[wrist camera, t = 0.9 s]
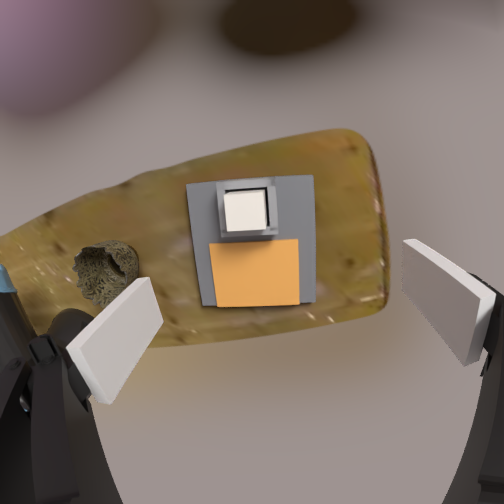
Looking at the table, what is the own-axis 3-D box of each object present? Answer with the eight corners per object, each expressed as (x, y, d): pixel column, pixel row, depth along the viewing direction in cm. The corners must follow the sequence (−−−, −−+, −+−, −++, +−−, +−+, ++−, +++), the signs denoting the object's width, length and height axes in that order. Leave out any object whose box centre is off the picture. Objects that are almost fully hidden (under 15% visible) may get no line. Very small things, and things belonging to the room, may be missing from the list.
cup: (156, 283, 36) (129, 312, 29) (111, 280, 37) (80, 305, 29) (150, 228, 34) (118, 247, 26) (103, 229, 35) (67, 246, 27)
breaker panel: (204, 301, 36) (196, 317, 32) (189, 183, 32) (177, 186, 28) (314, 297, 35) (318, 314, 31) (311, 174, 30) (317, 176, 26)
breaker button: (232, 224, 29) (227, 231, 26) (229, 191, 28) (223, 195, 25) (267, 222, 29) (265, 229, 26) (264, 189, 28) (263, 192, 25)
